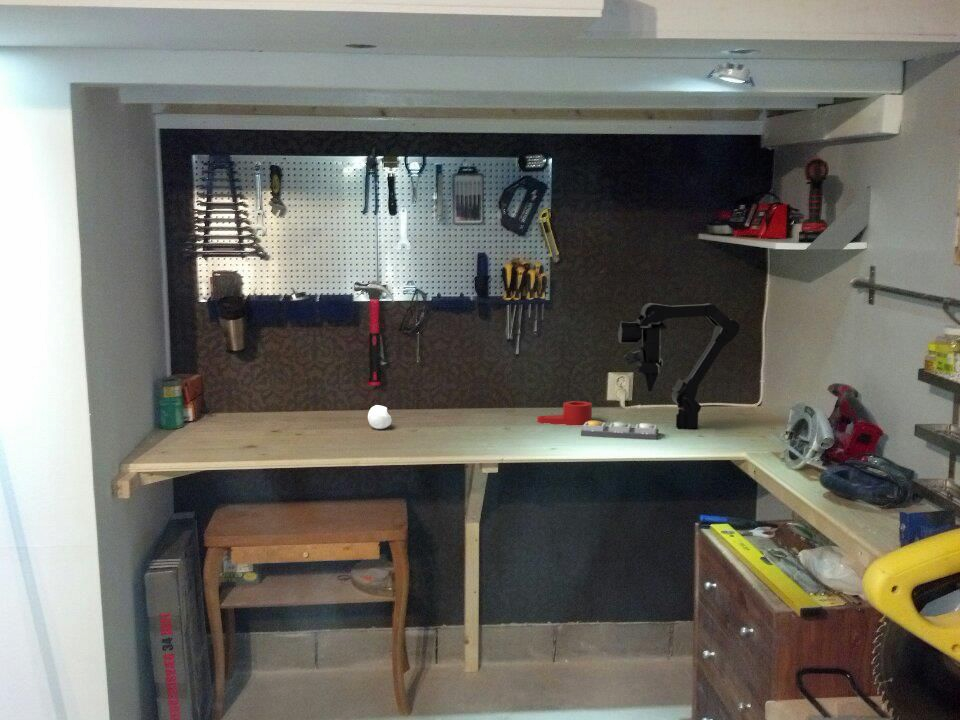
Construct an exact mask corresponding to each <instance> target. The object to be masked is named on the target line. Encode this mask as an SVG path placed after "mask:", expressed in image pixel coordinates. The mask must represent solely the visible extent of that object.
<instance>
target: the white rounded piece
mask: <svg viewBox="0 0 960 720" xmlns="http://www.w3.org/2000/svg"><path fill="white" fill-rule="evenodd" d="M367 421H368V423H369V425H370V426H371V427H372V428H373V429H377V430H385V429H386V428H388V427H390V425H391V423H392V416H391V415H390V414H389V412H388V407H387V406H384V405H379V404H375V405H374V406H372V407H371V408H370V409H369V411H368V412H367Z"/></svg>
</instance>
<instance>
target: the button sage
mask: <svg viewBox="0 0 960 720" xmlns="http://www.w3.org/2000/svg"><path fill="white" fill-rule="evenodd" d="M613 423H614V425H613V427H626V424H628V423H627V422H625V421H614V422H613Z"/></svg>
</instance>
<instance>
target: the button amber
mask: <svg viewBox="0 0 960 720" xmlns="http://www.w3.org/2000/svg"><path fill="white" fill-rule="evenodd" d="M588 425H593V426H601V420H596V419H595V420H594V419H593V420H591V421H588Z"/></svg>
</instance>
